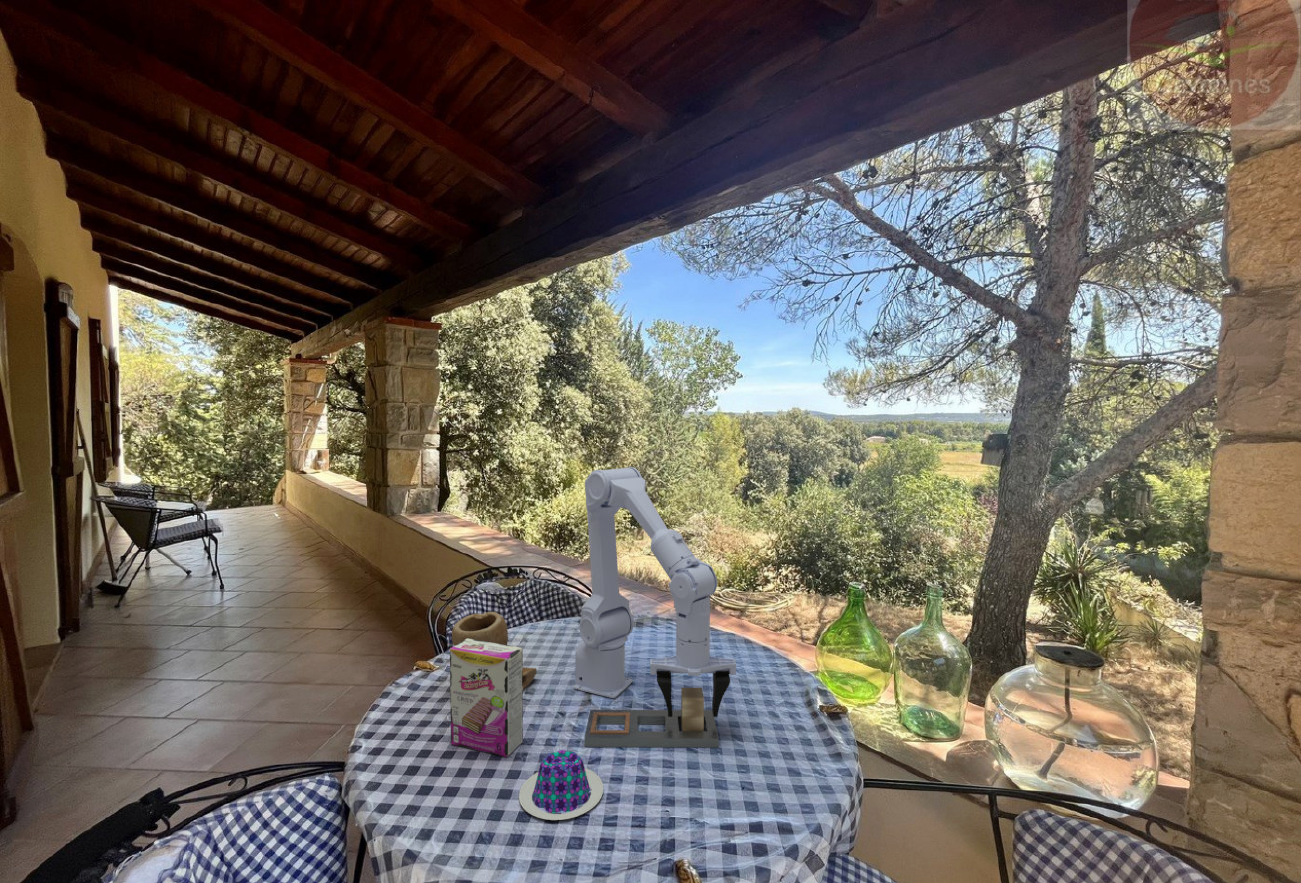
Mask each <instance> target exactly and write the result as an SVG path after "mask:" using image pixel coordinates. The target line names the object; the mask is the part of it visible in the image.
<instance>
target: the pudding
mask: <svg viewBox="0 0 1301 883" xmlns="http://www.w3.org/2000/svg"><path fill="white" fill-rule="evenodd" d="M591 789H592V790H591ZM589 791H590V792H589ZM589 794H590V795H589ZM603 794H604V783H603V782H602V779H601V778H600V776H599V775H598V774H597V773H596V772H595V771H593V770H591V769H589V768H587V767H585V764H584V761H583V759H582V757H581V756H580V755H578V753H576V752H575V751H572V750H569V751H568V750H565V749H562V750H558V751H556V752H555V751H552V752H550V753H548V755H546V757H545V758H543V759H542V760H541V762H540V764H539V768H538V771H537V772H536V773H534V774H533V775H531V776H530V777H528V779H526V781H524V783H523V784H522V785H521V788H520V790H519V794H518V796H519V797H518V798H519V799H518V800H519V803H520V805H521V806H522V808H523V810H525V812H527V813H528V814H530V815H531V816H534V817H536V818H538V819H543V820H547V821H548V820H550V821H558V820H559V821H560V820H569V819H573V818H576V817H579V816H581V815H583V814H585V813H587V812H588V811H591V809H593V808H594V807H595V806H596V805H597V804H599V802H600V800H601V798H602V797H603ZM533 797H534V801H533ZM580 805H582V806H581V807H579V808H578V806H580ZM541 809H544V810H545V811H543V810H541ZM559 812H564V813H559Z"/></svg>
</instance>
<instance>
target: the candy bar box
mask: <svg viewBox="0 0 1301 883" xmlns="http://www.w3.org/2000/svg"><path fill="white" fill-rule="evenodd" d="M523 654H524V653H523V647H519V646H514V645H508V644H507V645H502V644H496V643H490V642H485V641H479V640H474V639H468V638H467V639H465V640H464V641H462V642H460V643H459V644H457V645H455V646H454V645H453V646H452V647H450V648H449V674H450V676H449V688H450V695H449V696H450V701H449V703H450V744H451V745H454V746H458V747H462V748H468V749H471V750H475V751H479V752H483V753H488V754H493V755H496V756H500V757H505V758H508V757H510V755H512V754H513V753H514V752H515V750H516V749H517V748H519V747H520V746H521V744H523V741H524V731H523V730H524V729H523V728H524V722H523V720H524V718H523V714H524V712H523V711H524V707H523V705H524V704H523V703H524V701H523V700H524V699H523V697H524V696H523V693H524V692H523V690H524V689H523V673H522V672H523V671H522V670H523V668H524V667H523V661H524V660H523V658H524V657H523Z"/></svg>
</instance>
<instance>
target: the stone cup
mask: <svg viewBox="0 0 1301 883" xmlns="http://www.w3.org/2000/svg"><path fill="white" fill-rule="evenodd" d="M467 638H468V639H474V640H479V641H485V642H490V643H496V644H502V645H508V641H509V632H508V625H507V622H506V620H505V618H504V617H503V616H502V615H501V614H500V613H498V612H495V611H487V612H484V613H473V614H470V615H466V616H465V617H463V618H461V619H459V621H457V622H456V623H455V624H454V626H453V628H452V629H451V641H452V645H453V646H455V645H457V644H459V643H460V642H462V641H464V640H465V639H467ZM522 671H523V672H522V673H523V690H525V688H527V687H528V686H529V685H530V684H531V682H532V681H534V678H535V677H536V675H537V673H538V669H537V668H536V667H523V670H522Z"/></svg>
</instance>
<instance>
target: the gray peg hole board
mask: <svg viewBox="0 0 1301 883" xmlns="http://www.w3.org/2000/svg"><path fill="white" fill-rule="evenodd" d="M599 725H624V726H623V728H624V729H620V730H619V729H618V730H617V729H616V730H614V729H607V730H606V729H598V727H599ZM639 725H664V728H665V730H663V731H662V730H658V731H657V730H656V731H655V730H643V731H642V730H639V729H638V726H639ZM679 726H681V709H672V717H668V710H667V709H590V710H589V713H588V719H587V724H586V729H585V734H584V738H583V739H584V740H583V741H584V747H585V748H719V743H720V742H719V735H718V729H717V724H716V720H715V717H713V712H712V710H710V709H704V728H705V729H704V731H680V728H679Z"/></svg>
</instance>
